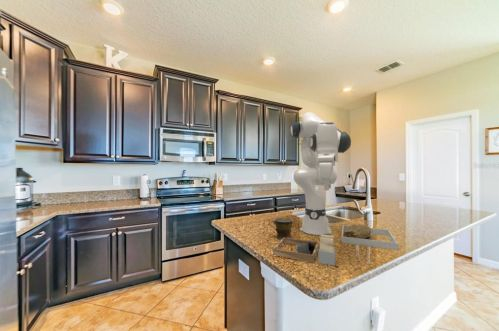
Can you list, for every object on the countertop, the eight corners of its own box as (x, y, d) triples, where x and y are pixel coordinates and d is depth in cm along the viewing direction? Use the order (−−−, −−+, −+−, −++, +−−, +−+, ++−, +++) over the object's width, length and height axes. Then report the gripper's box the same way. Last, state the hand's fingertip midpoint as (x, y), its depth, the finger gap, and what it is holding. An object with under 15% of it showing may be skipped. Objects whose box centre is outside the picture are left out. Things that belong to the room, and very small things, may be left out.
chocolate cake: (302, 248, 103) (292, 235, 97) (316, 246, 100) (307, 233, 94) (302, 268, 96) (292, 255, 90) (318, 266, 93) (308, 253, 87)
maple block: (321, 246, 91) (321, 234, 91) (333, 248, 89) (333, 236, 89) (319, 250, 86) (319, 238, 86) (333, 252, 84) (333, 239, 84)
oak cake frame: (283, 243, 109) (283, 237, 109) (318, 248, 102) (318, 242, 102) (272, 256, 93) (272, 249, 93) (313, 263, 86) (313, 255, 86)
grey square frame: (342, 230, 132) (342, 225, 132) (388, 235, 121) (388, 229, 122) (341, 242, 110) (341, 236, 110) (397, 249, 100) (397, 243, 100)
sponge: (361, 246, 107) (381, 232, 118) (357, 231, 108) (376, 218, 119) (339, 243, 118) (359, 230, 129) (335, 230, 119) (355, 218, 130)
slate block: (320, 257, 91) (320, 245, 91) (335, 260, 89) (335, 248, 89) (318, 263, 86) (318, 250, 86) (334, 266, 83) (334, 253, 83)
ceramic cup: (291, 235, 122) (291, 217, 123) (293, 241, 113) (293, 222, 113) (269, 234, 124) (269, 217, 124) (269, 240, 114) (269, 221, 114)
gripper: (322, 159, 105) (322, 187, 105) (317, 157, 86) (317, 191, 86) (336, 158, 102) (336, 187, 102) (333, 156, 84) (334, 191, 84)
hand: (327, 189), depth 94 cm, fingers open, 8 cm apart
